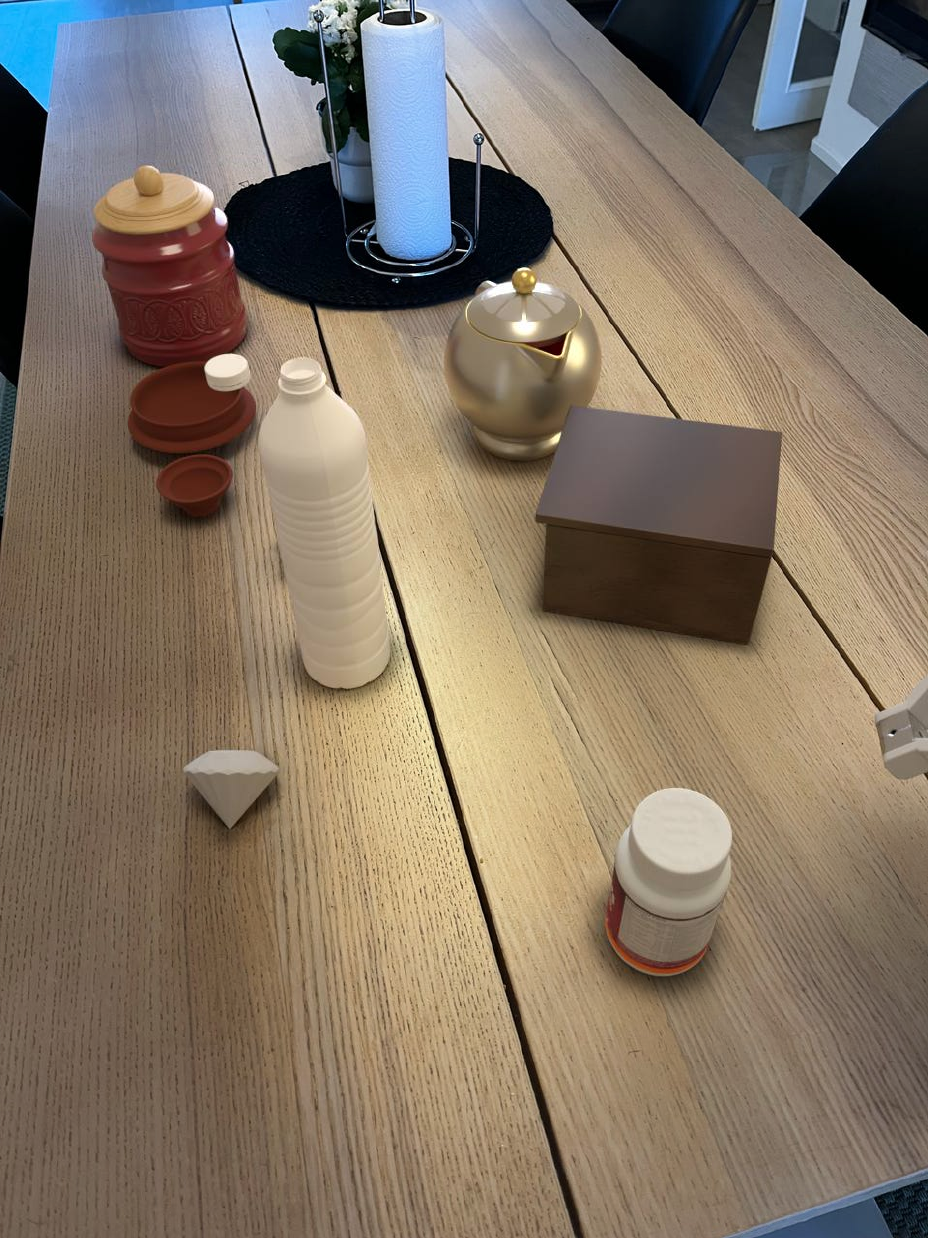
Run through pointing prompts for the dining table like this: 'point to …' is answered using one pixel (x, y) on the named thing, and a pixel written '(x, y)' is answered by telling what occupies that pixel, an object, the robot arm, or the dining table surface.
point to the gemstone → (231, 780)
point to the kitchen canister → (169, 269)
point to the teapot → (521, 364)
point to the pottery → (189, 431)
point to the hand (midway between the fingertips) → (885, 748)
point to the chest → (652, 583)
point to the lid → (665, 480)
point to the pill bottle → (669, 882)
